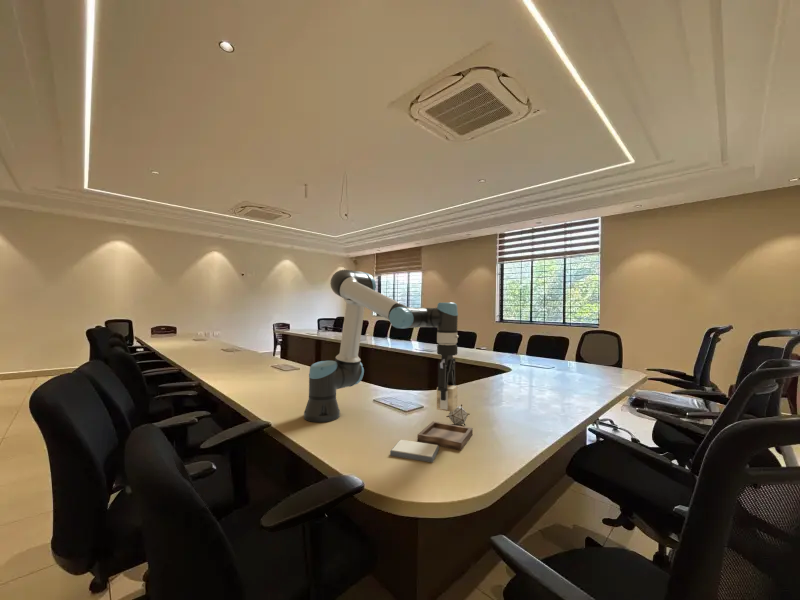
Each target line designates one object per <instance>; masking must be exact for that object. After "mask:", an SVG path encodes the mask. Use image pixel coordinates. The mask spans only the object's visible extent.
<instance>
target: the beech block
mask: <svg viewBox="0 0 800 600" xmlns="http://www.w3.org/2000/svg"><path fill="white" fill-rule="evenodd" d="M447 391H448V409H447V410H446V409H440V391H438V386H436V410H437V411H444V412H445V411H446V412H450V411H451V412H453V411H454V410H455V409H456V408H457V406H458V385H456V386H454V385H447Z"/></svg>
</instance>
